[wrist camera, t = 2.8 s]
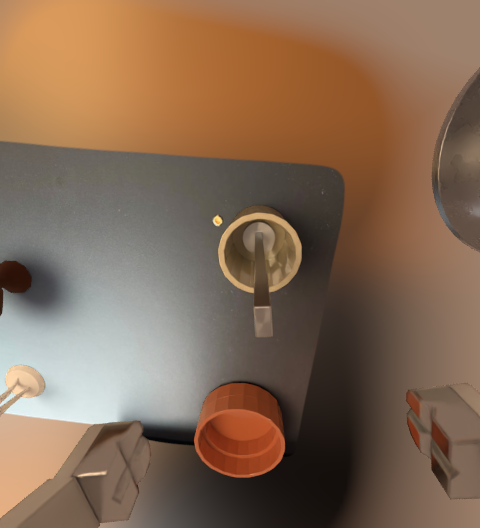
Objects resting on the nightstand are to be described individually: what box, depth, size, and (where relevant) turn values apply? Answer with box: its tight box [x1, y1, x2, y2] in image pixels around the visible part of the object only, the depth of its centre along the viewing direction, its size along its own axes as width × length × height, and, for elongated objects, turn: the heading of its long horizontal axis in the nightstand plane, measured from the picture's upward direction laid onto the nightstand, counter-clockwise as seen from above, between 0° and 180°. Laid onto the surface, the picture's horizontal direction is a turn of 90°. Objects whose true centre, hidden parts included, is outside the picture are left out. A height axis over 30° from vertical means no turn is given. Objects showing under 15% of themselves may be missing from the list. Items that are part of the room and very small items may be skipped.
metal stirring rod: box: [242, 220, 275, 337], centre depth 24 cm, size 4×4×24 cm
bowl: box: [194, 383, 285, 477], centre depth 43 cm, size 14×14×6 cm
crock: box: [218, 205, 302, 293], centre depth 31 cm, size 8×8×11 cm
